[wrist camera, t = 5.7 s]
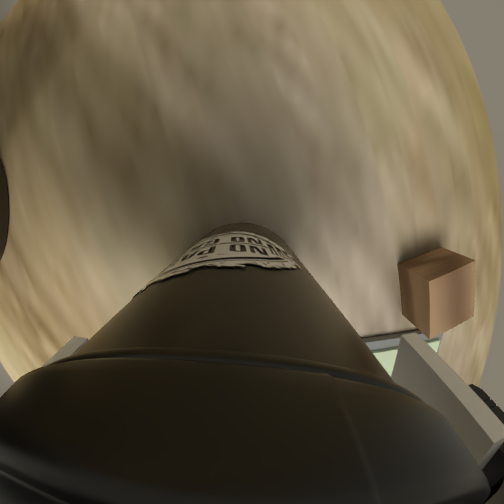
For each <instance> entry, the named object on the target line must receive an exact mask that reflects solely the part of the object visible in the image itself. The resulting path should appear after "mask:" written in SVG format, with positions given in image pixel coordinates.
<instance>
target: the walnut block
mask: <svg viewBox="0 0 504 504" xmlns="http://www.w3.org/2000/svg"><path fill="white" fill-rule="evenodd" d="M398 271H399V280H400V291H401V302H402V315H404V316H405V317H406V318H407V319H408V320H409V321H410V322H411V323H412V324H413V325H415V326H416V327H417V328H418V329H419V330H420V331H421V332H422V333H423V334H424V335H425V336H426V337H427V338H428V339H429V340H430V339H432V338H434V337H436V336H438V335H440V334H442V333H444V332H446V331H448V330H449V329H451V328H453V327H455V326H457V325H459V324H461V323H462V322H464V321H466V320H468V319H469V318H471V317H473V316H474V303H475V260H473V259H470V258H468V257H465V256H463V255H460V254H458V253H455V252H453V251H450V250H447V249H445V248H442V247H440V248H437V249H435V250H432V251H430V252H427V253H424V254H422V255H419V256H416V257H414V258H411V259H408V260H406V261H403V262H400V263H398Z"/></svg>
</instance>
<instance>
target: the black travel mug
mask: <svg viewBox="0 0 504 504" xmlns="http://www.w3.org/2000/svg"><path fill="white" fill-rule="evenodd" d="M182 255H183V256H182ZM182 255H181V256H180V257H179V258H178V260H177V259H176V261H175V262H173V263H172V264H170V265H169V266H168V267H167V268H166V269H165V270H163V271H162V272H161V273H160V274H159V275H160V276H159V275H158V276H156V277H157V278H156V277H155V278H154V279H153V280H152V281H151V282H149V283H148V284H147V285H146V286H145V287H146V288H145V287H144V288H145V289H144V288H142V289H141V290H140V291H141V292H140V291H139V292H138V293H137V294H136V295H135V296H133V297H134V298H133V299H132V300H131V301H130V302H129V303H128V304H127V305H126V306H125V307H124V308H123V309H122V310H121V311H119V312H118V313H117V314H116V315H115V316H114V317H113V318H112V319H111V320H110V321H109V322H108V323H106V324H105V325H104V326H103V327H102V328H101V329H100V330H99V331H98V332H97V333H96V334H95V335H94V336H93V337H92V338H91V339H90V340H89V341H87V342H86V343H85V344H84V345H83V346H82V347H81V348H80V349H79V350H78V351H77V352H76V353H75V354H74V355H72V356H68V357H65V358H62V359H59V360H57V361H54V362H52V363H50V364H48V365H46V366H44V367H41V368H38V369H35V370H33V371H31V372H29V373H27V374H25V375H24V376H22V377H21V378H19V379H18V380H17V381H16V382H15V383H14V384H13V385H12V386H11V387H10V388H9V389H8V390H7V391H6V392H5V393H4V394H3V395H2V396H1V397H0V504H484V503H485V501H486V499H487V498H488V496H489V494H490V490H491V489H490V486H489V483H488V480H487V478H486V476H485V474H484V473H483V471H482V470H481V468H480V467H479V465H478V464H477V462H476V461H475V459H474V458H473V456H472V455H471V453H470V452H469V451H468V449H467V448H466V446H465V445H464V443H463V442H462V440H461V439H460V438H459V436H458V435H457V433H456V432H455V431H454V429H453V428H452V426H451V425H450V424H449V422H448V421H447V420H446V418H445V417H444V416H443V415H442V414H441V413H440V412H438V411H437V410H436V409H434V408H433V407H431V406H429V405H428V404H426V403H425V402H424V401H423V400H422V399H421V398H420V397H418V396H417V395H416V394H414V393H412V392H411V391H409V390H408V389H406V388H404V387H402V386H400V385H398V384H396V383H395V382H394V381H393V379H392V378H391V377H390V375H389V374H388V373H387V371H386V370H385V369H384V367H383V366H382V365H381V363H380V362H379V361H378V359H377V358H376V357H375V355H374V354H373V353H372V352H371V350H370V349H369V348H368V346H367V345H366V344H365V342H364V341H363V340H362V338H361V337H360V336H359V335H358V333H357V332H356V331H355V329H354V328H353V327H352V326H351V324H350V323H349V322H348V320H347V319H346V318H345V317H344V315H343V314H342V313H341V312H340V310H339V309H338V308H337V306H336V305H335V304H334V303H333V301H332V300H331V299H330V298H329V296H328V295H327V294H326V293H325V291H324V290H323V289H322V288H321V286H320V285H319V284H318V283H317V281H316V280H315V279H314V278H313V276H312V275H311V274H310V273H309V272H308V270H307V269H306V268H305V267H304V265H303V264H302V263H301V262H300V261H299V259H298V258H297V257H296V256H295V254H294V253H293V252H292V251H291V250H290V248H289V247H288V246H287V245H286V244H285V242H284V241H283V240H282V239H281V238H280V237H278V236H277V235H276V234H275V233H273V232H271V231H270V230H268V229H266V228H263V227H261V226H258V225H254V224H247V223H236V224H229V225H226V226H222V227H220V228H218V229H216V230H214V231H212V232H210V233H209V234H208V235H206V236H205V237H204V238H203V239H202V240H200V241H199V242H198V243H197V244H195V245H194V246H192V247H191V248H190V249H188V251H186V252H185V253H184V254H182ZM143 289H144V290H143ZM142 290H143V291H142Z"/></svg>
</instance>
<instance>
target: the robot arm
mask: <svg viewBox="0 0 504 504" xmlns="http://www.w3.org/2000/svg"><path fill="white" fill-rule="evenodd" d="M7 230H8V192H7V184H6V178H5V173H4V169H3V166H2V163H1V161H0V259H1V257H2V254H3V251H4V247H5V243H6V238H7ZM87 341H88V338H81V337H75V336H74V337H73V338H72V339H71V340H70V341H69V342H68V343H67V344H66V345H65V346H64V347H63V348H61V349H60V350H59V351H58V352H57V353H56V354H55V355H54V356H53V357H52V358H51V359H50V360H49V361H48V362H47V363H46V364H45V365H44V366H46V365H48V364H50V363H52V362H54V361H57V360H59V359H62V358H65V357H68V356H72V355H74V354H75V353H76V352H77V351H78V350H79V349H80V348H81V347H82V346H83V345H84V344H85V343H86V342H87ZM44 366H42V367H44ZM391 378H392V379H393V381H394V382H395V383H396V384H398V385H400V386H402V387H404V388H406V389H408V390H409V391H411V392H412V393H414V394H416V395H417V396H418V397H420V398H421V399H422V400H423V401H424V402H425V403H426V404H428V405H429V406H431V407H433V408H434V409H436V410H437V411H438V412H440V413H441V414H442V415H443V416H444V417H445V418H446V420H447V421H448V422H449V424H450V425H451V426H452V428H453V429H454V431H455V432H456V433H457V435H458V436H459V438H460V439H461V440H462V442H463V443H464V445H465V446H466V448H467V449H468V451H469V452H470V453H471V455H472V456H473V458H474V459H475V461H476V462H477V464H478V465H479V467H480V468H481V470H482V471H483V473H484V474H485V476H486V478H487V480H488V483H489V486H490V489H491V490H490V494H489V496H488V498H487V499H486V501H485V503H484V504H504V412H503V411H502V410H501V409H500V408H499V407H498V406H496V404H495V403H494V401H493V400H490V397H489V396H488V395H487V394H486V393H485V392H484V391H483V390H482V389H480V388H478V387H477V386H475V385H473V384H471V385H467V383H466V382H465V381H464V380H463V379H462V378H461V377H460V376H459V375H458V374H457V373H456V372H455V371H454V370H453V369H452V368H451V367H450V366H449V365H448V364H447V363H446V362H445V361H444V360H443V359H442V358H441V357H440V356H439V355H438V354H437V353H436V352H435V351H434V350H433V349H432V348H431V347H430V346H429V345H428V344H427V343H426V342H425V341H424V340H423V339H422V338H421V337H420V336H419V335H418V334H417V333H410V334H404V335H401V338H400V343H399V347H398V351H397V356H396V360H395V364H394V367H393V371H392V375H391Z"/></svg>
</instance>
